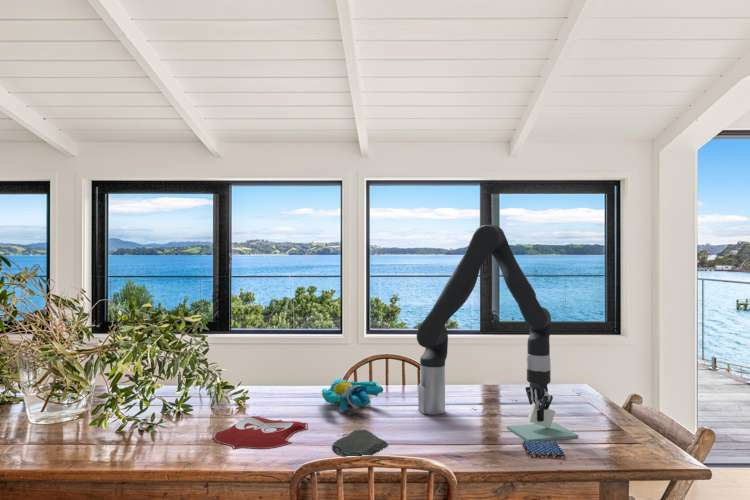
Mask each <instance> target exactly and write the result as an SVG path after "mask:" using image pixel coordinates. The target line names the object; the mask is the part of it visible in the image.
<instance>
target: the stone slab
mask: <svg viewBox="0 0 750 500" xmlns="http://www.w3.org/2000/svg"><path fill="white" fill-rule="evenodd" d="M388 446H389V444H388V442H387V441H386V440H384V439H381V438H379V437H378V436H376V435H375V434H374V433H372V432H371V431H368V430H367V429H355V430H353V431H351V432H350V433H349V434H348V435H346V436H343V437H341V438H339V439H336V440H335V441H334V442H333V443H332V446H331V450H332V452H333V453H334V454H336V455H337V456H340V457H343V456H362V455H372V456H373V455H374V454H377V453H379V452H381V451H382V450H384V449H386V448H387V447H388ZM383 448H384V449H383ZM380 450H381V451H380ZM376 452H377V453H376Z"/></svg>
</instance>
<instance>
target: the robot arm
mask: <svg viewBox="0 0 750 500" xmlns="http://www.w3.org/2000/svg"><path fill="white" fill-rule="evenodd" d="M490 254H491V255H492V257H493V258H494V259H495V261H496V262H497V264H498V266H499V269H500V271H501V274H502V278H503V280H504V282H505V285H506V287H507V289H508V291H509V292H510V294H511V296H512V297H513V299H514V300H515V303H517V306H518V308H519V311H520V313H521V315H522V317H523V320H524V321H525V324H527V325H528V327H529V336H528V338H527V353H526V354H527V355H526V381H527V382H528V383H529V386H526V387H525V388H524V389H525V392H526V395H527V398H528V402H529V405H531V406H532V403H535V404H537V421H538V422H542V421H544V410H548V408H549V409H550V406H551V404H552V401H553V398H554V397H553V395H552V394H551V395H550V394H549V388H548V384H551V375H552V374H551V368H552V367H551V356H550V355H551V354H550V351H551V350H550V348H551V347H550V336H551V326H552V325H551V324H552V316H551V314H550V312H549V310H548V309H547V308H545V307H543V306H541V304H540V302H539V301H538V299H537V294H536V292H535V289H534V288H533V286H532V285H531V283H530V282H529V279H527V277H526V275H525V273H524V272H523V270H522V269H521V267H520V265H519V263H518V262H517V259H516V257H515V255H514V254H513V252H512V249H511V247H510V245H509V242H508V238H507V237H506V235H505V233H504V230H503V229H502V228H501V227H500V226H498V225H495V224H483V225H480V226H479V227H478V228H476V229H475V230H474V233H473V235H472V237H471V238H470V241H469V244H468V246H467V248H466V250H465V253H464V255H463V256H462V257H461V259H460V261H459V263H458V264H457V265H456V266H455V269H454V270H453V272H452V273H451V275H450V277H449V279H448V280H447V282H446V283H445V285H444V287H443V289H442V291H441V293H440V294H439V296H438V298H437V299H436V301H435V303H434V305H433V307H432V309H431V310H430V311H429V313H428V314H427V316H426V317H425V318H424V320H422V322H421V324H420V325H419V327H418V328H417V330H416V340H417V343H418V344H419V346H421V347H422V348H425V349H424V352H423V354H422V355H421V357H420V359H419V360H420V361H419V363H420V365H419V366H420V367H419V369H420V371H419V372H420V373H419V375H420V377H419V380H420V381H419V384H417V385H418V387H417V389H418V393H417V395H418V396H417V397H418V401H417V402H418V404H417V405H418V406H417V409H418V411H420V412H421V413H422V415H431V416H432V415H433V416H434V415H436V416H437V415H442V414H444V413H446V360H447V358H448V357H447V356H448V350H449V349H448V346H449V344H448V343H449V334H448V329H447V326H446V324H447V323H448V321H449V320H450V319H451V317H453V316H454V314H455V313H457V312H458V311H459V310H460V309H461V307H463V305H464V304H465V303H466V302H467V301H468V299H469V298H470V295H471V294H472V292H473V291H474V288H475V287H476V284H477V280H478V277H479V273H480V270H481V268H482V266H483V264H484V262H485V261H486V260H487V258H488V257H489V256H490Z"/></svg>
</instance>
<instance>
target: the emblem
mask: <svg viewBox="0 0 750 500" xmlns="http://www.w3.org/2000/svg"><path fill="white" fill-rule="evenodd" d="M308 424H309V423H308V422H301V421H295V420H293V421H292V420H291V421H289V420H287V421H286V420H284V421H283V420H282V419H277V420H276V419H275V420H274V419H269V418H264V417H260V416H255V415H252V416H248V417H244V418H243V419H240V420H239V421H237V422H236V423H234V424H233V425H232V426H230V427H229V428H226V429H224V430H219V431H216V432H214V434H213V435H212V441H213V442H215V443H217V444H219V445H223V446H226V447H230V448H231V449H232V450H238V449H247V450H248V449H249V450H270V449H278V448H281V447H286V446H288V445H290V444H293V442H292V441H289V439H291V438H292V436H293V435H295V434H297V433H299V432H300V433H301V432H303V431H309V426H308Z"/></svg>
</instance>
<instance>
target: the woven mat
mask: <svg viewBox="0 0 750 500" xmlns="http://www.w3.org/2000/svg"><path fill="white" fill-rule="evenodd" d="M521 445H522V448H523V450H525V453H526V455H527V456H528V458H530V459H531V458H537V459H543V458H544V459H548V458H549V459H557V460H559V458H560V459H562V460H563V459H564V458H565V457H566V455H565V452H564V451H563V449H562V447H560V445H559V444H558V442H557V441H552V440H549V441H533V442H532V441H525V440H523V441H522V442H521Z"/></svg>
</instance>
